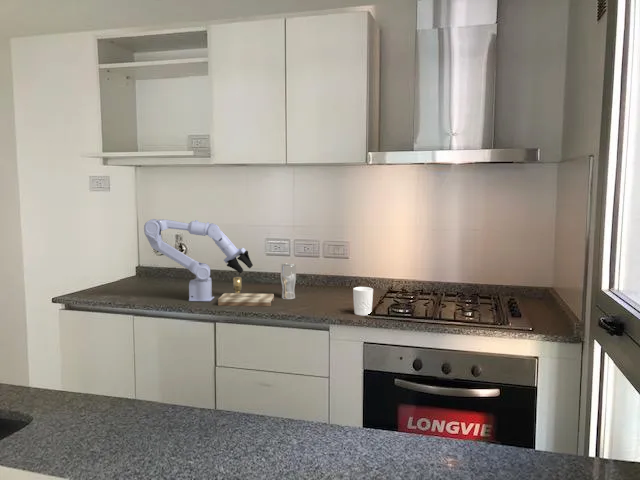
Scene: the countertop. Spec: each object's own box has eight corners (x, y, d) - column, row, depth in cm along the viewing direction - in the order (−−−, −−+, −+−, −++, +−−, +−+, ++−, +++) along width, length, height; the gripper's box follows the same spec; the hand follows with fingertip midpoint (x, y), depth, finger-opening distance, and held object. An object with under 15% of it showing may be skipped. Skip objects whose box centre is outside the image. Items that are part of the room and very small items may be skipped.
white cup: (352, 315, 203) (352, 290, 202) (353, 310, 211) (353, 286, 210) (372, 316, 202) (372, 291, 201) (373, 311, 209) (373, 287, 208)
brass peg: (232, 298, 234) (232, 278, 233) (234, 296, 238) (233, 276, 237) (241, 298, 234) (241, 278, 233) (242, 296, 238) (242, 276, 237)
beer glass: (294, 299, 231) (294, 266, 229) (278, 299, 232) (278, 265, 231) (297, 296, 238) (297, 263, 236) (283, 295, 239) (283, 263, 238)
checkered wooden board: (218, 305, 219) (218, 299, 219) (224, 299, 231) (224, 293, 231) (270, 306, 218) (270, 299, 218) (273, 300, 230) (273, 293, 230)
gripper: (240, 235, 228) (260, 259, 230) (223, 246, 238) (242, 268, 240) (231, 244, 223) (251, 268, 226) (214, 255, 233) (234, 278, 236)
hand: (246, 269), depth 233 cm, fingers open, 7 cm apart
